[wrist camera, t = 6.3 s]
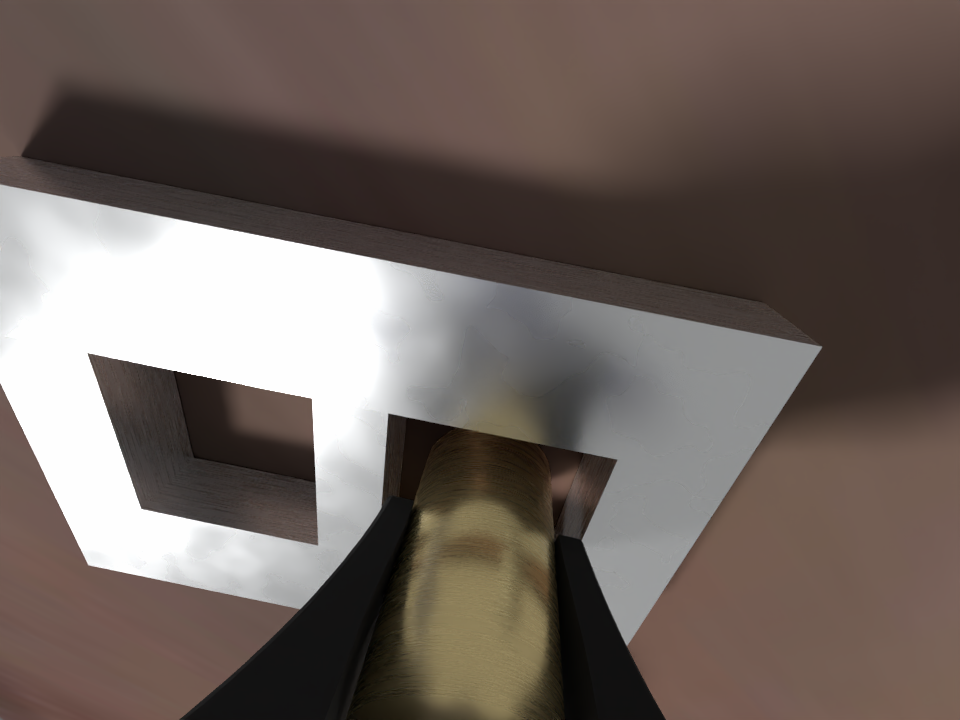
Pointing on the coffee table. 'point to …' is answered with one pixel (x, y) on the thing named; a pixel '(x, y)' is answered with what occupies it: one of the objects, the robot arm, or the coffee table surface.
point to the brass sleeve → (470, 593)
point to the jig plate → (357, 379)
